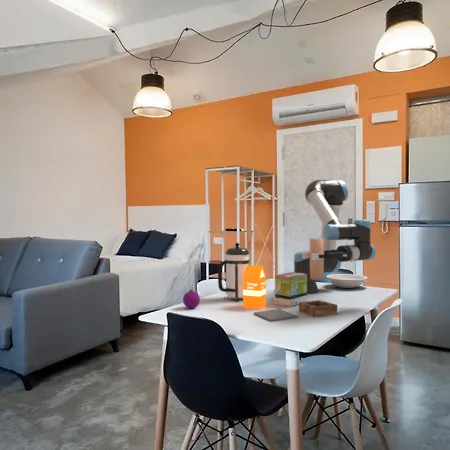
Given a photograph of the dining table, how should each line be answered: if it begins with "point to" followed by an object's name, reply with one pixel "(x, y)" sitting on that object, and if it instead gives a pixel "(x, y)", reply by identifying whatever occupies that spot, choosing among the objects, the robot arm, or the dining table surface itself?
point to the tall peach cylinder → (316, 265)
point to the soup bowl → (346, 280)
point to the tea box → (290, 288)
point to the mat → (275, 315)
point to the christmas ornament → (191, 299)
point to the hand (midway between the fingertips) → (307, 256)
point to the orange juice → (254, 287)
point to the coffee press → (234, 271)
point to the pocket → (318, 308)
